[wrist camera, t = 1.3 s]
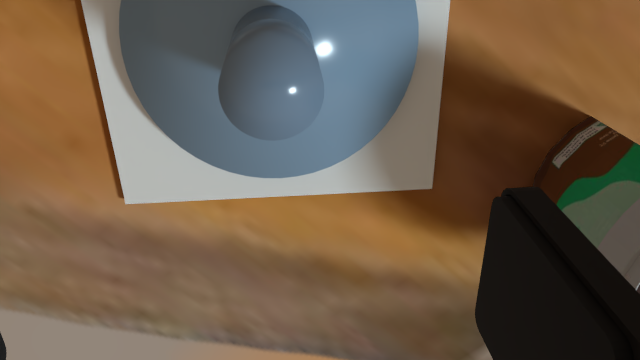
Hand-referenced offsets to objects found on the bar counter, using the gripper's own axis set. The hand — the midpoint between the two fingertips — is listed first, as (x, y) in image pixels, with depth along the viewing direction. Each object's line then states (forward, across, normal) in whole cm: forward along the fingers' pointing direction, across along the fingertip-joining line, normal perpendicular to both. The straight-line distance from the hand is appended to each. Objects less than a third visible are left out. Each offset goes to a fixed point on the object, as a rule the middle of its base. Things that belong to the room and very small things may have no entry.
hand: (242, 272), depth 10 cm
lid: (+16, -1, 0) cm, 17 cm away
